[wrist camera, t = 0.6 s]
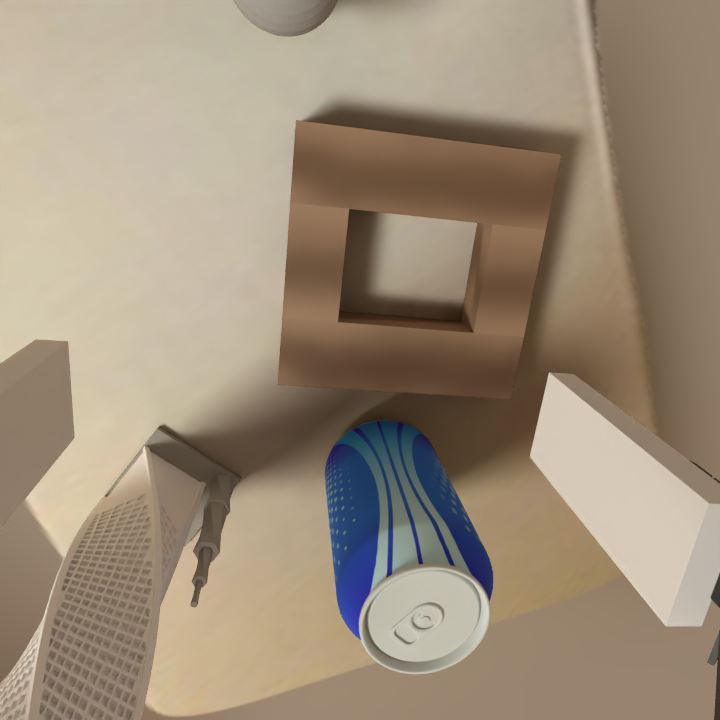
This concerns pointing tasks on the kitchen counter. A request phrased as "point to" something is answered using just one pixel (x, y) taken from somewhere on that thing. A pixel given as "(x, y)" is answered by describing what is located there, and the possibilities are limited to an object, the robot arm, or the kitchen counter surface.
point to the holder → (425, 199)
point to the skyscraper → (120, 588)
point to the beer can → (404, 550)
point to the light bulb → (286, 14)
